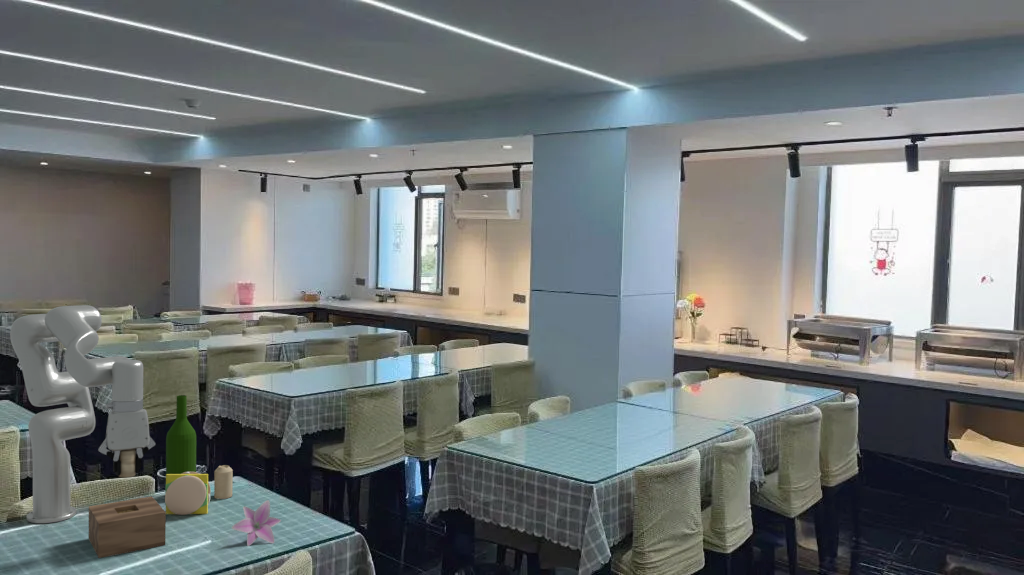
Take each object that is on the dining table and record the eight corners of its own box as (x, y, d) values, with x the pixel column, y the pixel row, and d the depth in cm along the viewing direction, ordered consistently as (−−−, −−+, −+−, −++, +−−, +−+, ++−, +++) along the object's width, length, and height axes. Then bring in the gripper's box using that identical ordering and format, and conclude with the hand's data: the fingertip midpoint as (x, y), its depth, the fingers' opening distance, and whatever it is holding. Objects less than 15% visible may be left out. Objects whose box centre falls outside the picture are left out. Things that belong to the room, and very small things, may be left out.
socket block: (88, 538, 209) (88, 506, 208) (151, 527, 218) (152, 496, 218) (98, 558, 196) (98, 523, 196) (165, 545, 206) (165, 512, 205)
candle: (226, 499, 244) (226, 469, 243) (210, 498, 245) (211, 467, 244) (235, 494, 249) (236, 464, 249) (220, 493, 250) (220, 463, 250)
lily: (224, 548, 207) (231, 523, 203) (240, 517, 218) (247, 493, 214) (267, 561, 208) (274, 536, 204) (281, 530, 219) (288, 506, 215)
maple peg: (117, 474, 207) (117, 449, 207) (133, 472, 209) (134, 447, 209) (120, 478, 204) (120, 452, 203) (136, 476, 206) (137, 450, 206)
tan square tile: (116, 515, 207) (116, 512, 207) (133, 512, 210) (134, 509, 210) (119, 520, 204) (119, 516, 204) (137, 517, 206) (137, 513, 206)
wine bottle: (202, 494, 249) (202, 395, 248) (179, 501, 241) (180, 399, 239) (182, 489, 253) (182, 392, 251) (159, 497, 245) (160, 396, 243)
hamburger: (212, 507, 237) (213, 469, 236) (204, 516, 228) (205, 476, 228) (172, 507, 236) (172, 469, 235) (163, 516, 227) (163, 477, 227)
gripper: (95, 411, 198) (94, 481, 198) (164, 405, 208) (163, 471, 209) (90, 406, 204) (90, 474, 204) (157, 400, 214) (157, 465, 215)
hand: (127, 472), depth 206 cm, fingers closed on maple peg, 4 cm apart
